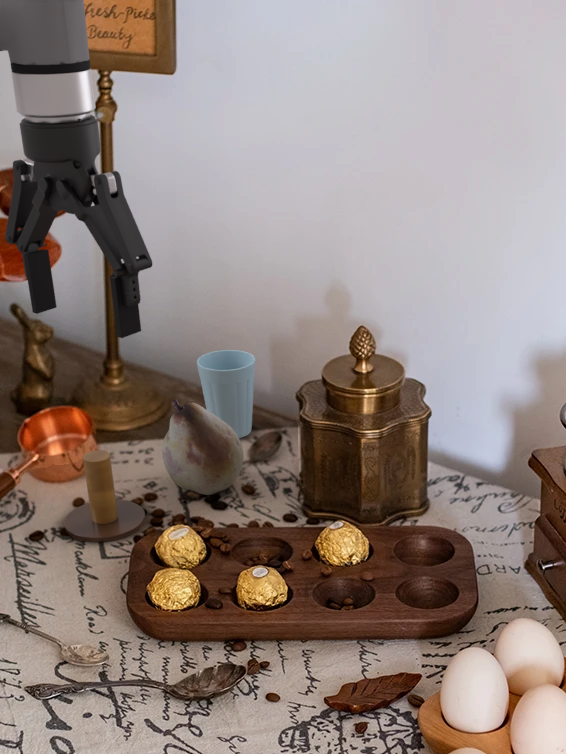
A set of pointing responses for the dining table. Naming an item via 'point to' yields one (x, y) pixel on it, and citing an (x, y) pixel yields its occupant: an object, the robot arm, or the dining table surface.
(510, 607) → the dining table surface
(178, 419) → the fruit
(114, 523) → the lid
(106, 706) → the dining table surface
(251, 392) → the cup
